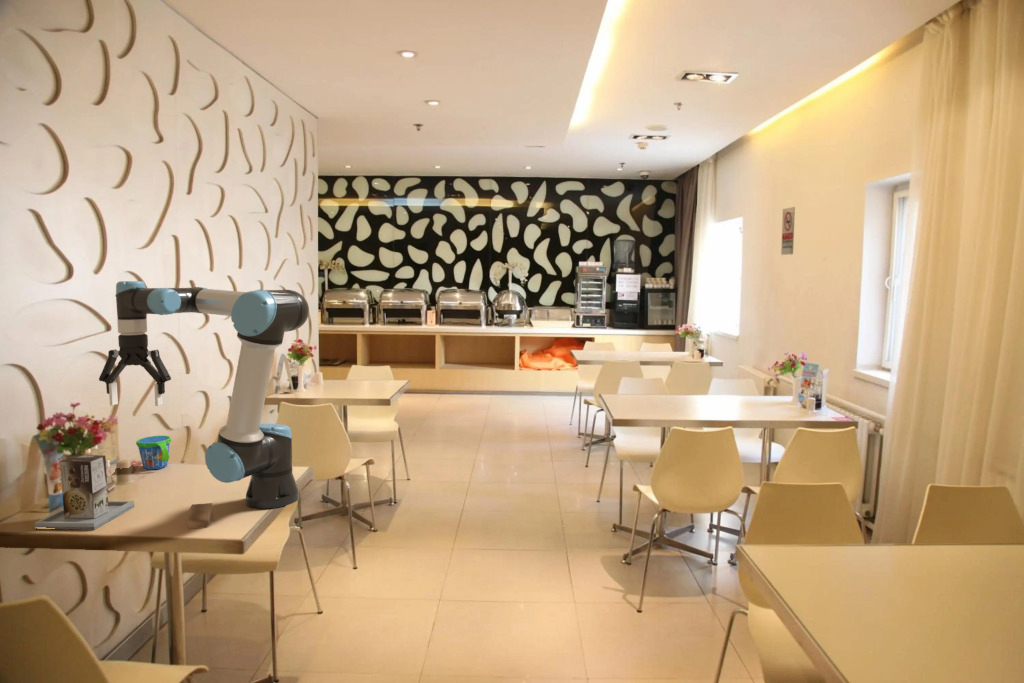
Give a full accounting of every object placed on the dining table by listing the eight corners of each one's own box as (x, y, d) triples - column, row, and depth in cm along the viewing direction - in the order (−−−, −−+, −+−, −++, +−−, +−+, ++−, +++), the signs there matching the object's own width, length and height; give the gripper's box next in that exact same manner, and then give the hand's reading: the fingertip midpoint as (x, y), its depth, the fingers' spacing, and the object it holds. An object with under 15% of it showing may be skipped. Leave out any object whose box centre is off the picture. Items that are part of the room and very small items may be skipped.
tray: (134, 506, 195) (133, 500, 195) (94, 530, 177) (93, 523, 177) (80, 506, 195) (79, 500, 195) (34, 529, 177) (34, 522, 177)
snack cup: (131, 465, 237) (129, 437, 236) (162, 459, 244) (161, 432, 243) (147, 475, 226) (145, 446, 225) (179, 468, 234) (178, 440, 233)
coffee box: (110, 511, 189) (106, 455, 188) (94, 519, 183) (91, 461, 181) (79, 510, 190) (75, 454, 188) (62, 518, 183) (58, 460, 182)
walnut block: (212, 520, 184) (211, 503, 184) (208, 527, 179) (208, 509, 179) (192, 522, 183) (192, 504, 183) (188, 528, 178) (187, 510, 178)
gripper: (181, 332, 201) (184, 402, 203) (99, 332, 201) (103, 402, 203) (167, 334, 193) (171, 407, 195) (82, 334, 194) (86, 406, 196)
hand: (136, 405), depth 199 cm, fingers open, 13 cm apart
